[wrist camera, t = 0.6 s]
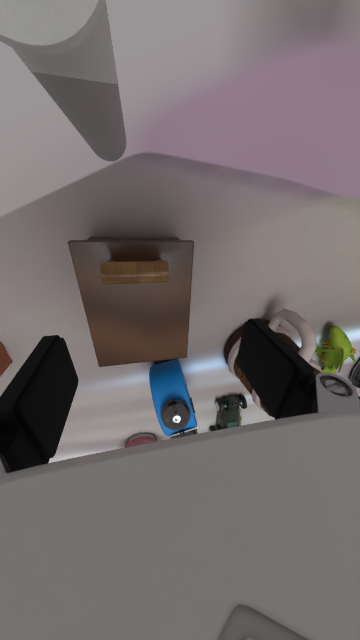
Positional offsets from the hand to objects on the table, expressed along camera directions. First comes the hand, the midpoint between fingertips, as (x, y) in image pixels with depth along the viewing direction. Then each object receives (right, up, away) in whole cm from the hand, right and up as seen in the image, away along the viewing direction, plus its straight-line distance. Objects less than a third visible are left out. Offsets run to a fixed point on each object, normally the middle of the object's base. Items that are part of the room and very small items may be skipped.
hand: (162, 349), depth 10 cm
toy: (+40, -7, +41) cm, 57 cm away
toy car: (+14, -27, +47) cm, 56 cm away
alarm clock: (-2, -10, +34) cm, 35 cm away
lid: (-4, +3, +15) cm, 15 cm away
